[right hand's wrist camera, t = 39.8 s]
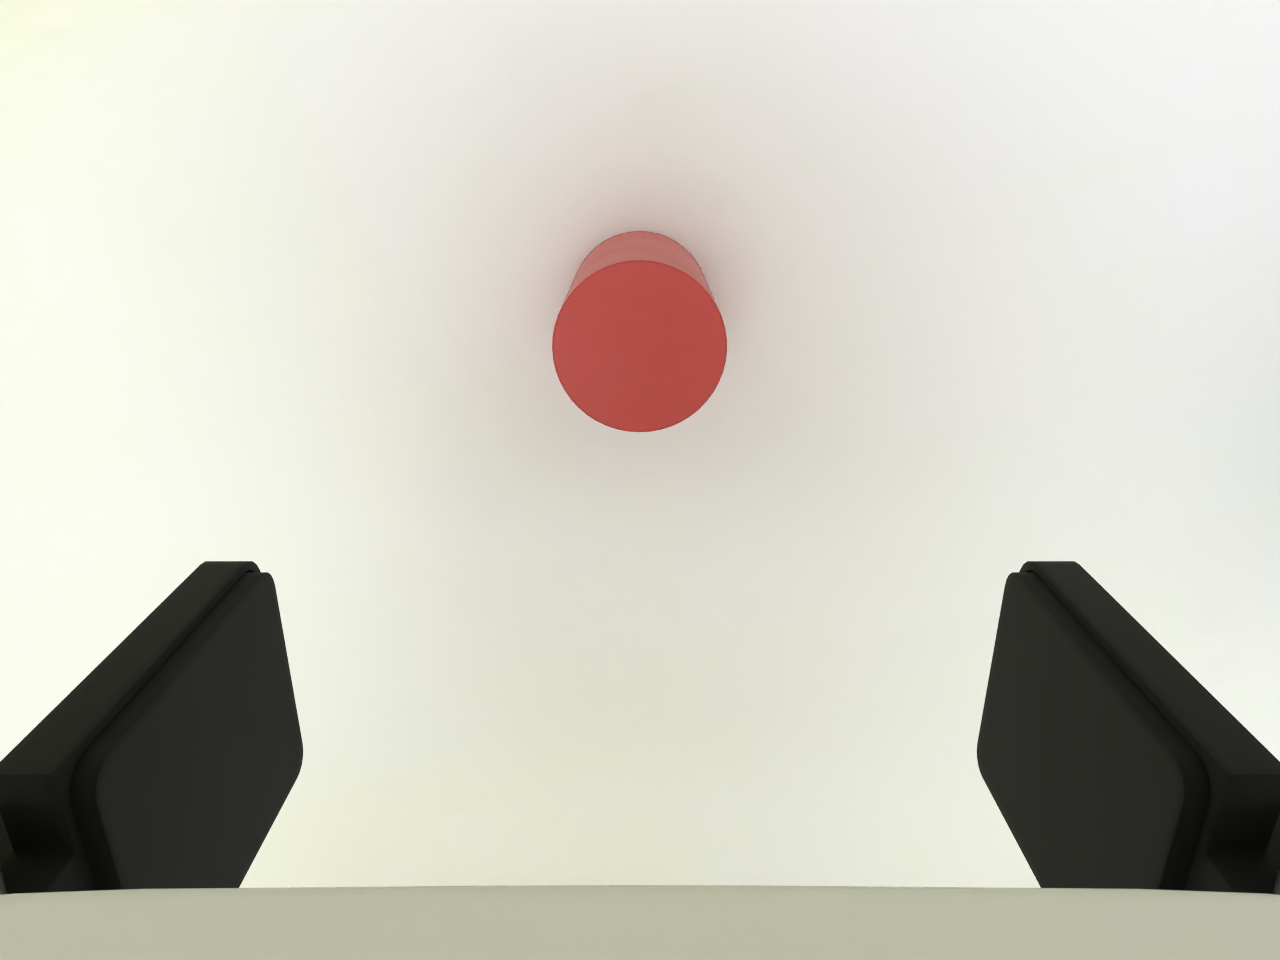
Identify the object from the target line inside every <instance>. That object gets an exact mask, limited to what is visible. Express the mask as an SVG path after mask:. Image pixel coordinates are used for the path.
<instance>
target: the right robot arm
mask: <svg viewBox="0 0 1280 960" xmlns="http://www.w3.org/2000/svg"><path fill="white" fill-rule="evenodd" d="M302 759H303V744H302V738H301V732H300V727H299V721H298V715H297V709H296V704H295V698H294V692H293V686H292V681H291V675H290V669H289V663H288V658H287V652H286V646H285V641H284V635H283V629H282V623H281V618H280V612H279V606H278V600H277V595H276V589H275V584H274V580H273V578H272V576H271V575H270V574H269V573H261V572H260V570H259V568H258V566H257V565H256V564H255V563H254V562H253V561H206V562H204V563H202V564H201V565H200V566H199V567H198V568H197V569H196V570H195V571H194V572H193V573H192V574H191V575H190V576H189V577H187V578H186V579H185V580H184V581H183V582H182V583H181V584H180V585H179V586H178V587H177V588H176V589H175V590H174V591H173V592H172V593H171V594H170V595H169V596H168V597H167V598H166V599H165V600H164V601H163V602H162V603H161V604H160V605H159V606H158V607H157V608H156V609H155V610H154V611H153V612H152V613H151V614H150V615H149V616H148V617H147V618H146V619H145V620H144V621H143V622H142V623H141V624H140V625H139V626H138V627H137V628H136V629H135V630H134V631H133V632H132V633H131V634H130V635H129V636H128V637H127V638H126V639H125V640H124V641H123V642H122V643H120V644H119V645H118V646H117V647H116V648H115V649H114V650H113V651H112V652H111V653H110V654H109V655H108V656H107V657H106V658H105V659H104V660H103V661H102V662H101V663H100V664H99V665H98V666H97V667H96V668H95V669H94V670H93V671H92V672H91V673H90V674H89V675H88V676H87V677H86V678H85V679H84V680H83V681H82V682H81V683H80V684H79V685H78V686H77V687H76V688H75V689H74V690H73V691H72V692H71V693H70V694H69V695H68V696H67V697H66V698H65V699H64V700H63V701H62V702H61V703H60V704H59V705H58V706H57V707H56V708H55V709H53V710H52V711H51V712H50V713H49V714H48V715H47V716H46V717H45V718H44V719H43V720H42V721H41V722H40V723H39V724H38V725H37V726H36V727H35V728H34V729H33V730H32V731H31V732H30V733H29V734H28V735H27V736H26V737H25V738H24V739H23V740H22V741H21V742H20V743H19V744H18V745H17V746H16V747H15V748H14V749H13V750H12V751H11V752H10V753H9V754H8V755H7V756H6V757H5V758H4V759H3V760H2V761H1V762H0V960H1280V762H1279V761H1278V760H1277V759H1276V758H1275V757H1274V756H1273V755H1272V754H1271V753H1270V752H1269V751H1268V750H1267V749H1266V748H1265V747H1264V746H1263V745H1262V744H1261V743H1260V742H1259V741H1258V740H1257V739H1256V738H1255V737H1254V736H1253V735H1252V734H1251V733H1250V732H1249V731H1248V730H1247V729H1246V728H1245V727H1244V726H1243V725H1242V724H1241V723H1240V722H1239V721H1238V720H1237V719H1236V718H1235V717H1234V716H1233V715H1232V714H1231V713H1230V712H1229V711H1228V710H1227V709H1225V708H1224V707H1223V706H1222V705H1221V704H1220V703H1219V702H1218V701H1217V700H1216V699H1215V698H1214V697H1213V696H1212V695H1211V694H1210V693H1209V692H1208V691H1207V690H1206V689H1205V688H1204V687H1203V686H1202V685H1201V684H1200V683H1199V682H1198V681H1197V680H1196V679H1195V678H1194V677H1193V676H1192V675H1191V674H1190V673H1189V672H1188V671H1187V670H1186V669H1185V668H1184V667H1183V666H1182V665H1181V664H1180V663H1179V662H1178V661H1177V660H1176V659H1175V658H1174V657H1173V656H1172V655H1171V654H1170V653H1169V652H1168V651H1167V650H1166V649H1165V648H1164V647H1163V646H1162V645H1161V644H1160V643H1158V642H1157V641H1156V640H1155V639H1154V638H1153V637H1152V636H1151V635H1150V634H1149V633H1148V632H1147V631H1146V630H1145V629H1144V628H1143V627H1142V626H1141V625H1140V624H1139V623H1138V622H1137V621H1136V620H1135V619H1134V618H1133V617H1132V616H1131V615H1130V614H1129V613H1128V612H1127V611H1126V610H1125V609H1124V608H1123V607H1122V606H1121V605H1120V604H1119V603H1118V602H1117V601H1116V600H1115V599H1114V598H1113V597H1112V596H1111V595H1110V594H1109V593H1108V592H1107V591H1106V590H1105V589H1104V588H1103V587H1102V586H1101V585H1100V584H1099V583H1098V582H1097V581H1096V580H1095V579H1094V578H1093V577H1091V576H1090V575H1089V574H1088V573H1087V572H1086V571H1085V570H1084V569H1083V568H1082V567H1081V566H1080V565H1079V564H1078V563H1076V562H1074V561H1027V562H1026V563H1025V564H1024V565H1023V566H1022V568H1021V570H1020V572H1019V573H1011V574H1010V575H1009V576H1008V578H1007V580H1006V584H1005V589H1004V595H1003V600H1002V606H1001V612H1000V618H999V623H998V629H997V635H996V641H995V646H994V652H993V658H992V663H991V669H990V675H989V681H988V686H987V692H986V698H985V704H984V709H983V715H982V721H981V727H980V732H979V738H978V744H977V759H978V765H979V769H980V772H981V775H982V777H983V779H984V781H985V783H986V785H987V787H988V789H989V790H990V792H991V794H992V796H993V798H994V800H995V802H996V804H997V805H998V807H999V809H1000V811H1001V813H1002V815H1003V817H1004V819H1005V821H1006V822H1007V824H1008V826H1009V828H1010V830H1011V832H1012V834H1013V836H1014V837H1015V839H1016V841H1017V843H1018V845H1019V847H1020V849H1021V851H1022V853H1023V854H1024V856H1025V858H1026V860H1027V862H1028V864H1029V866H1030V868H1031V870H1032V871H1033V873H1034V875H1035V877H1036V879H1037V881H1038V883H1039V885H1040V886H1041V888H969V887H846V886H423V887H311V888H239V886H240V885H241V883H242V881H243V879H244V877H245V875H246V873H247V871H248V870H249V868H250V866H251V864H252V862H253V860H254V858H255V856H256V854H257V853H258V851H259V849H260V847H261V845H262V843H263V841H264V839H265V837H266V836H267V834H268V832H269V830H270V828H271V826H272V824H273V822H274V821H275V819H276V817H277V815H278V813H279V811H280V809H281V807H282V805H283V804H284V802H285V800H286V798H287V796H288V794H289V792H290V790H291V789H292V787H293V785H294V783H295V781H296V779H297V777H298V775H299V772H300V769H301V765H302Z"/></svg>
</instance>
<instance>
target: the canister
mask: <svg viewBox="0 0 1280 960" xmlns="http://www.w3.org/2000/svg"><path fill="white" fill-rule="evenodd" d="M552 351H553V360H554V365H555V369H556V372H557V375H558V378H559V380H560V382H561V384H562V386H563V388H564V390H565V391H566V393H567V394H568V396H569V397H570V399H571V400H572V401H573V402H574V403H575V404H576V405H577V406H578V407H579V408H580V409H581V410H582V411H583V412H584V413H586V414H587V415H588V416H590V417H591V418H593V419H594V420H596V421H598V422H600V423H602V424H604V425H606V426H609V427H612V428H615V429H619V430H624V431H631V432H650V431H655V430H661V429H664V428H667V427H671V426H673V425H675V424H677V423H680V422H682V421H683V420H685V419H686V418H688V417H690V416H691V415H692V414H694V413H695V412H696V411H697V410H699V409H700V408H701V407H702V406H703V404H704V403H705V402H706V401H707V400H708V399H709V397H710V396H711V395H712V393H713V392H714V390H715V388H716V387H717V385H718V383H719V381H720V378H721V376H722V373H723V370H724V366H725V362H726V353H727V338H726V331H725V326H724V323H723V319H722V316H721V314H720V312H719V309H718V307H717V305H716V303H715V300H714V298H713V296H712V294H711V291H710V289H709V287H708V285H707V282H706V280H705V278H704V275H703V273H702V271H701V269H700V267H699V265H698V264H697V262H696V260H695V259H694V258H693V257H692V255H691V254H690V253H689V252H688V251H687V250H686V249H685V248H684V247H682V246H681V245H680V244H678V243H677V242H675V241H674V240H672V239H670V238H668V237H665V236H663V235H660V234H656V233H652V232H642V231H638V232H628V233H623V234H620V235H617V236H614V237H612V238H610V239H608V240H606V241H604V242H603V243H601V244H600V245H598V246H597V247H596V248H595V249H594V250H592V251H591V252H590V254H589V255H588V256H587V257H586V258H585V260H584V261H583V263H582V264H581V266H580V268H579V270H578V272H577V274H576V276H575V278H574V281H573V283H572V285H571V287H570V290H569V292H568V294H567V296H566V299H565V301H564V303H563V305H562V307H561V310H560V312H559V314H558V317H557V320H556V323H555V327H554V333H553V343H552Z"/></svg>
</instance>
